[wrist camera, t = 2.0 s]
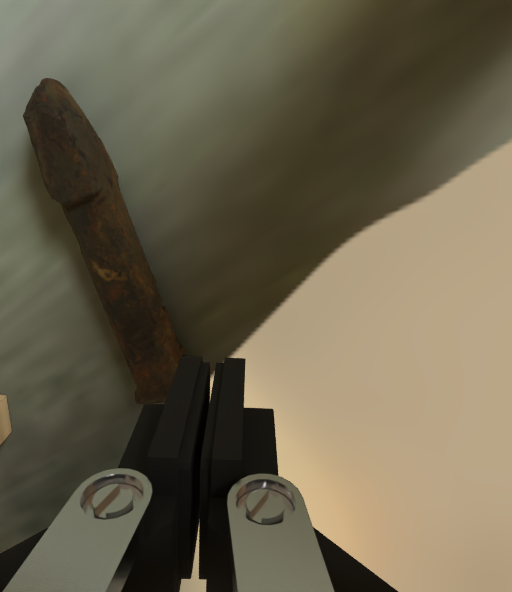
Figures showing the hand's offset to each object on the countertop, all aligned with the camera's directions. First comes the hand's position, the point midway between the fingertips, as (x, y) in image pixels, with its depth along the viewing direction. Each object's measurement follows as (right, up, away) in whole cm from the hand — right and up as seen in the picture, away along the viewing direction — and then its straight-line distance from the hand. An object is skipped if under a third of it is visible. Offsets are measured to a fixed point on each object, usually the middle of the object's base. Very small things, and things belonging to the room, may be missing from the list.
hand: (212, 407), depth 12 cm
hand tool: (-8, +6, +16) cm, 19 cm away
